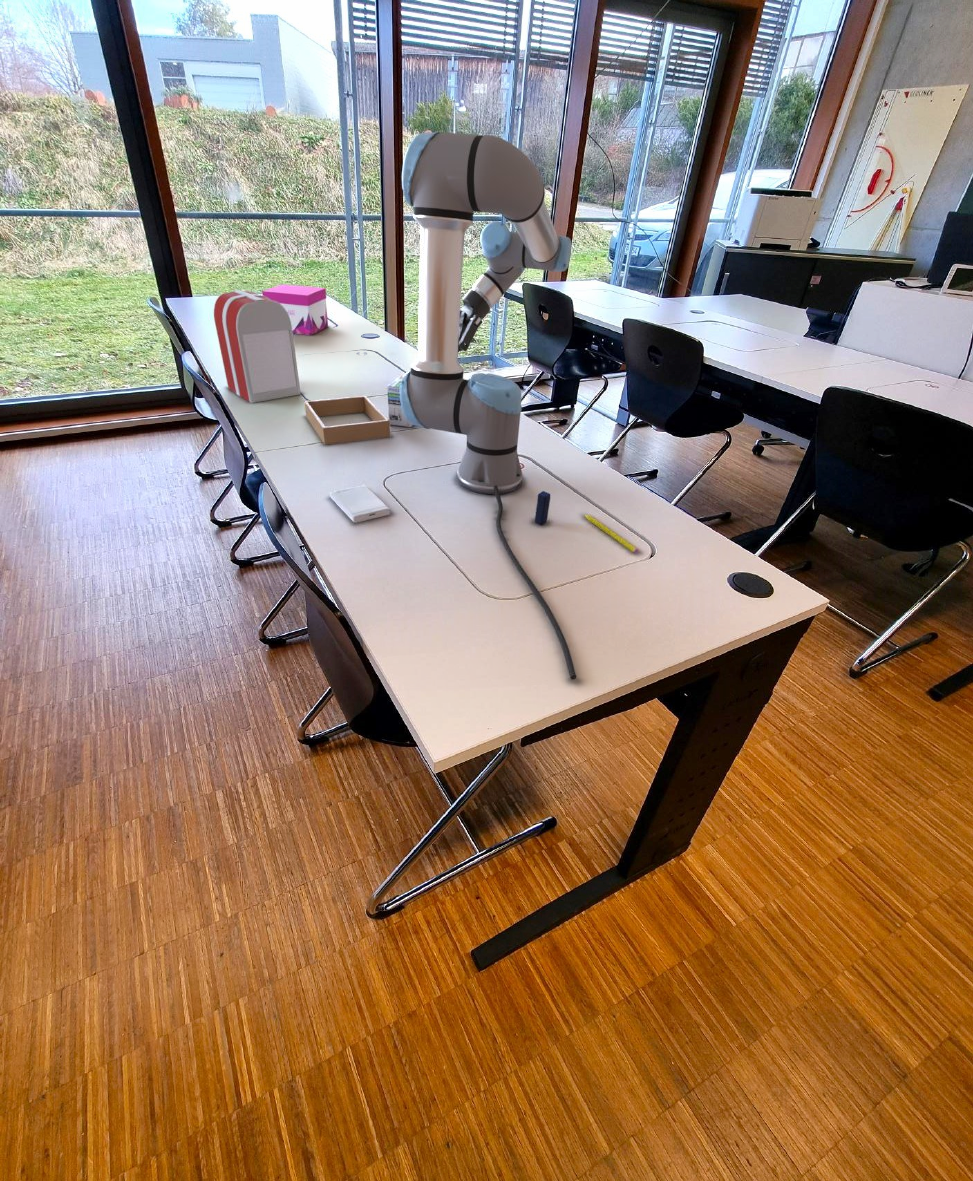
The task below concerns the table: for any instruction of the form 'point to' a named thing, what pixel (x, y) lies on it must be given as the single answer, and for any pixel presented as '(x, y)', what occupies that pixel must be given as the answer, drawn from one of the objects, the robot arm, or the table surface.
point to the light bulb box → (396, 404)
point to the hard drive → (359, 503)
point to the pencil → (612, 534)
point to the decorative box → (302, 306)
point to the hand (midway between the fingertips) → (429, 360)
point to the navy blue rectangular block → (542, 508)
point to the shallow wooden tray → (347, 431)
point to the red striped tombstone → (256, 346)
